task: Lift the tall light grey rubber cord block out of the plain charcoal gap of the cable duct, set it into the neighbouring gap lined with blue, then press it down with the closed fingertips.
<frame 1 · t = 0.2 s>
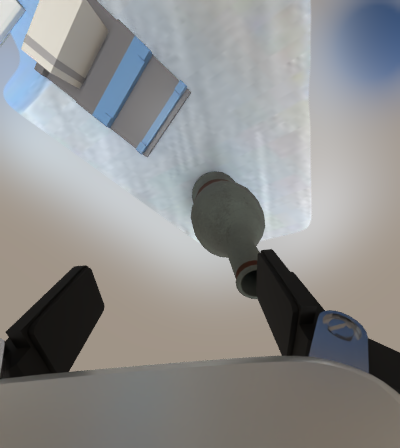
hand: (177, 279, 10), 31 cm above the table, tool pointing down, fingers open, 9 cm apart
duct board: (116, 81, 32), on the table
cord block: (82, 51, 30), point 1 cm above the table, touching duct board
bottle: (213, 191, 40), on the table
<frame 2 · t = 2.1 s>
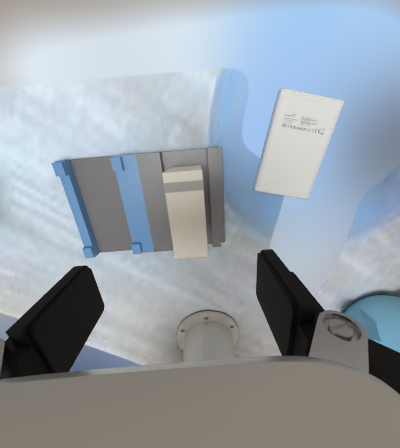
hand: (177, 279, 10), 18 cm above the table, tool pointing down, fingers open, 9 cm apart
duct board: (149, 204, 27), on the table
external hard drive: (290, 149, 26), on the table
cord block: (189, 202, 27), point 1 cm above the table, touching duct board
teapot: (368, 315, 37), on the table
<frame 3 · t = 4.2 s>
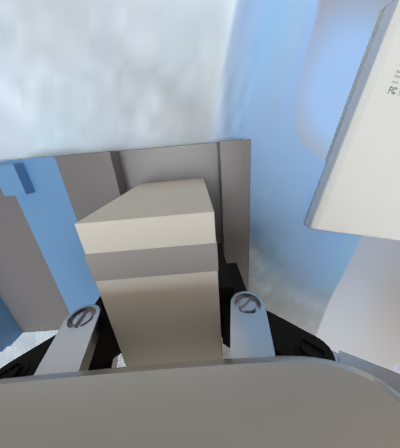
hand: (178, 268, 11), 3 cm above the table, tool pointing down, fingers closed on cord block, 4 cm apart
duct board: (106, 250, 14), on the table
external hard drive: (383, 145, 13), on the table
cord block: (181, 249, 14), point 1 cm above the table, touching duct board, gripper
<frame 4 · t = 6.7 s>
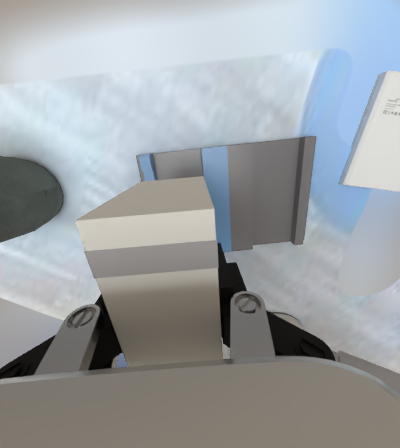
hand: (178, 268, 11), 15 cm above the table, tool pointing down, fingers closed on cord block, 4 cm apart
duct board: (227, 200, 26), on the table
external hard drive: (382, 138, 24), on the table
cord block: (181, 247, 14), point 13 cm above the table, touching gripper
bottle: (32, 190, 25), on the table
when the fingers open (4 cm above the table, at t = 9.2 s): cord block stays where it is, resting on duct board.
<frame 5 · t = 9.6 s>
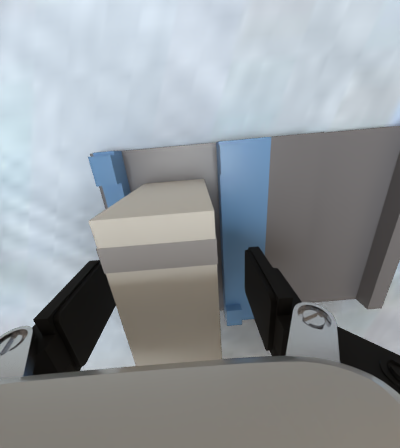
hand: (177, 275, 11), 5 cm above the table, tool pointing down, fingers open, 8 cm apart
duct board: (256, 233, 15), on the table
cord block: (182, 246, 14), point 1 cm above the table, touching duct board
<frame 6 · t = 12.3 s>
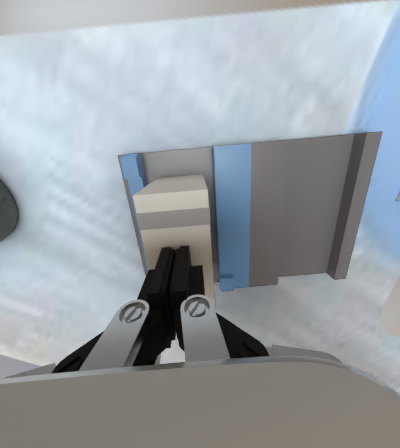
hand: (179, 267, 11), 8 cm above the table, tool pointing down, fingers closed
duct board: (244, 218, 19), on the table
cord block: (186, 227, 18), point 1 cm above the table, touching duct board, gripper
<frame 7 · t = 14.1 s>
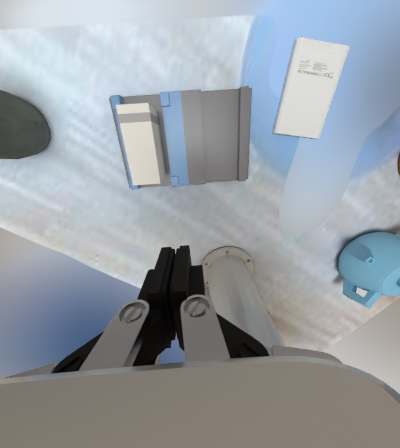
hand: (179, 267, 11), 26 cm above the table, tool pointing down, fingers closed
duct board: (185, 142, 32), on the table
external hard drive: (303, 95, 31), on the table
cord block: (150, 146, 31), point 1 cm above the table, touching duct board
teapot: (363, 253, 44), on the table
bottle: (24, 127, 30), on the table
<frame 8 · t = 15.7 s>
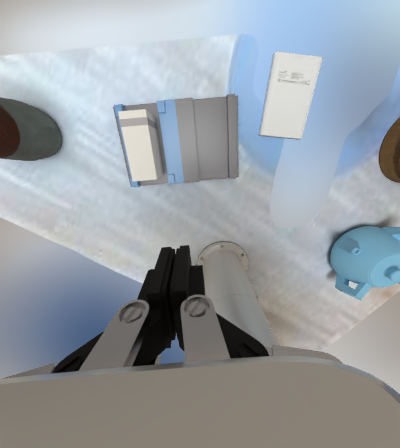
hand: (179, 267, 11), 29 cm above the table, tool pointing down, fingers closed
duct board: (180, 144, 36), on the table
external hard drive: (285, 101, 34), on the table
cord block: (149, 148, 35), point 1 cm above the table, touching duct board
teapot: (354, 248, 46), on the table
bottle: (40, 134, 34), on the table
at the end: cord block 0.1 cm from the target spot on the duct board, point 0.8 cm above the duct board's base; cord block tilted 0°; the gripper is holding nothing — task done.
